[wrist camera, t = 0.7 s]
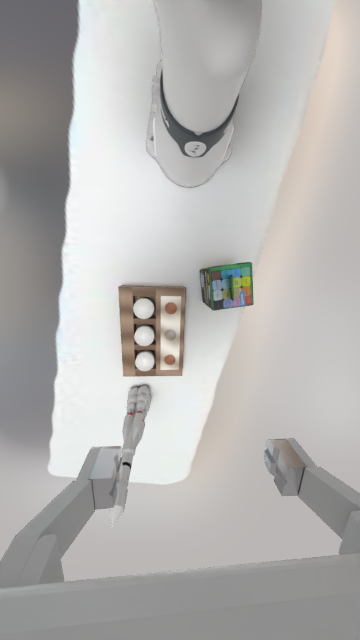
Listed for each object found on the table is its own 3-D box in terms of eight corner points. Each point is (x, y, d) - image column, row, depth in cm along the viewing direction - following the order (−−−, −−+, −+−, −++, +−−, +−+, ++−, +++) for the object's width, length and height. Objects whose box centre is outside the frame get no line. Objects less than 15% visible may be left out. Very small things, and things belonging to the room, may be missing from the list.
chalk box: (235, 298, 49) (262, 309, 35) (202, 303, 49) (216, 315, 35) (233, 264, 47) (262, 260, 32) (198, 268, 46) (213, 266, 32)
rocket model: (144, 406, 56) (120, 549, 27) (124, 395, 54) (75, 534, 25) (157, 389, 55) (147, 519, 26) (137, 377, 53) (102, 502, 24)
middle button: (135, 324, 46) (133, 327, 43) (154, 324, 46) (153, 327, 44) (136, 341, 47) (134, 346, 44) (154, 341, 48) (153, 346, 45)
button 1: (136, 349, 48) (134, 354, 45) (154, 349, 48) (154, 354, 45) (137, 365, 49) (135, 371, 46) (154, 365, 49) (154, 371, 46)
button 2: (135, 297, 44) (132, 298, 41) (154, 297, 45) (153, 299, 42) (135, 315, 46) (133, 318, 43) (154, 316, 46) (153, 319, 43)
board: (122, 285, 46) (118, 286, 42) (184, 287, 47) (185, 288, 43) (126, 368, 52) (123, 377, 48) (181, 368, 53) (182, 376, 49)
